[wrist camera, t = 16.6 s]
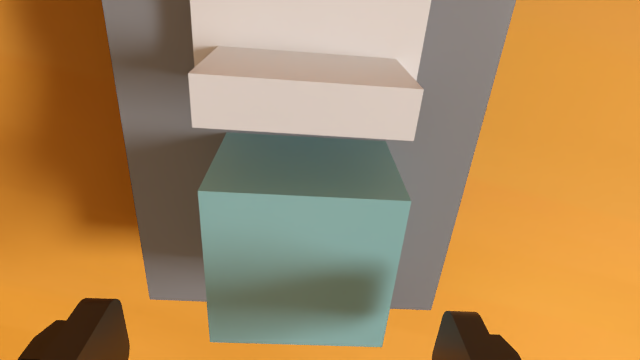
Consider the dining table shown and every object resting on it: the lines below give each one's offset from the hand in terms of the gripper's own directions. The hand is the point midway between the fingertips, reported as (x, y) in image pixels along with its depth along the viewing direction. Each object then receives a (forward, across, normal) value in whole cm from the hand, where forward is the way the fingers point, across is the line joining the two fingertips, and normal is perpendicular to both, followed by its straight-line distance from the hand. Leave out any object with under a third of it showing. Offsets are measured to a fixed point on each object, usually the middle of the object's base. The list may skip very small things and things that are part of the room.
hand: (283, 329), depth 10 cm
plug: (+9, 0, 0) cm, 9 cm away
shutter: (+5, 0, -8) cm, 10 cm away
